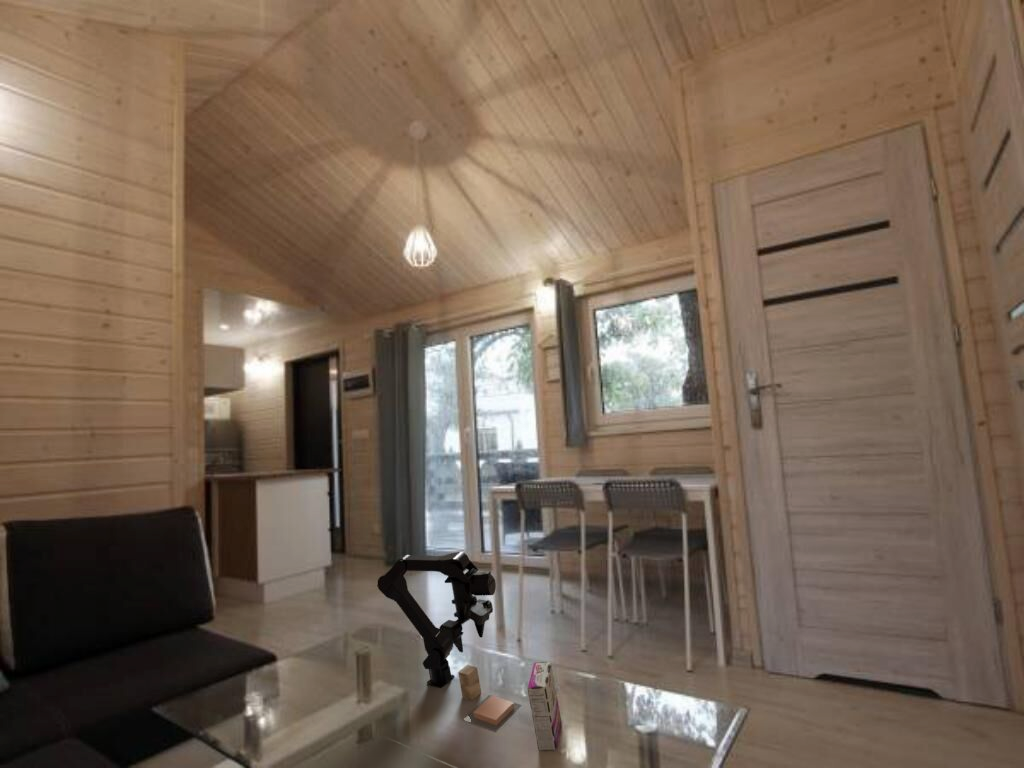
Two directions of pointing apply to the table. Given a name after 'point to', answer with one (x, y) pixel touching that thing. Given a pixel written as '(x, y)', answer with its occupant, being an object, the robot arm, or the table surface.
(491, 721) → the terracotta tile
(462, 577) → the robot arm
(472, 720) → the rubber mat
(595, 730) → the table surface
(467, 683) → the oak block
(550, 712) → the candy bar box
